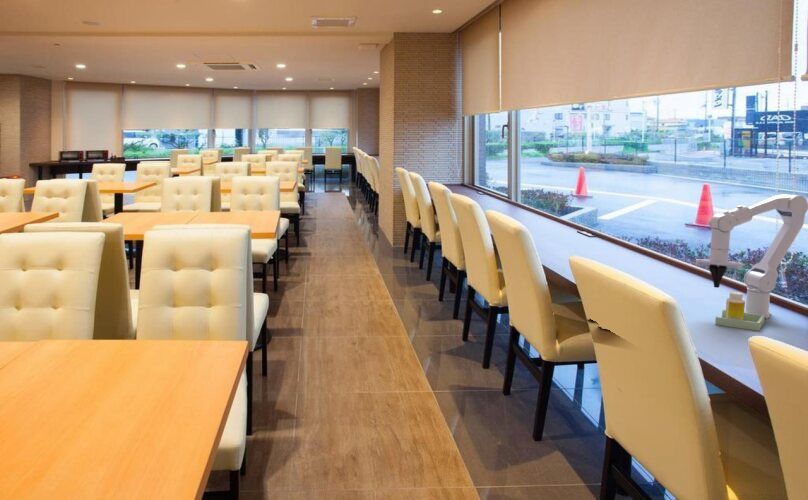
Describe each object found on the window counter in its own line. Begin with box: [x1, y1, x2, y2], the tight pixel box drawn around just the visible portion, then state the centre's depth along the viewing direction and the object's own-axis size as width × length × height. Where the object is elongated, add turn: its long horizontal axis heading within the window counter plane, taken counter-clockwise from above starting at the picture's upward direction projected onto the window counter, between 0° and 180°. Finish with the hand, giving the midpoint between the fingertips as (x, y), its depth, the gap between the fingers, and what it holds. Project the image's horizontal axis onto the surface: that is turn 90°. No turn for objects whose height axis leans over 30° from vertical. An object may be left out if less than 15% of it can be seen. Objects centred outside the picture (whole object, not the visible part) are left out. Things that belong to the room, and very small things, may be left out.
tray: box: [714, 309, 766, 332], centre depth 220 cm, size 13×13×2 cm
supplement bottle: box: [724, 291, 746, 321], centre depth 220 cm, size 6×6×10 cm
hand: (716, 287), depth 229 cm, fingers closed
